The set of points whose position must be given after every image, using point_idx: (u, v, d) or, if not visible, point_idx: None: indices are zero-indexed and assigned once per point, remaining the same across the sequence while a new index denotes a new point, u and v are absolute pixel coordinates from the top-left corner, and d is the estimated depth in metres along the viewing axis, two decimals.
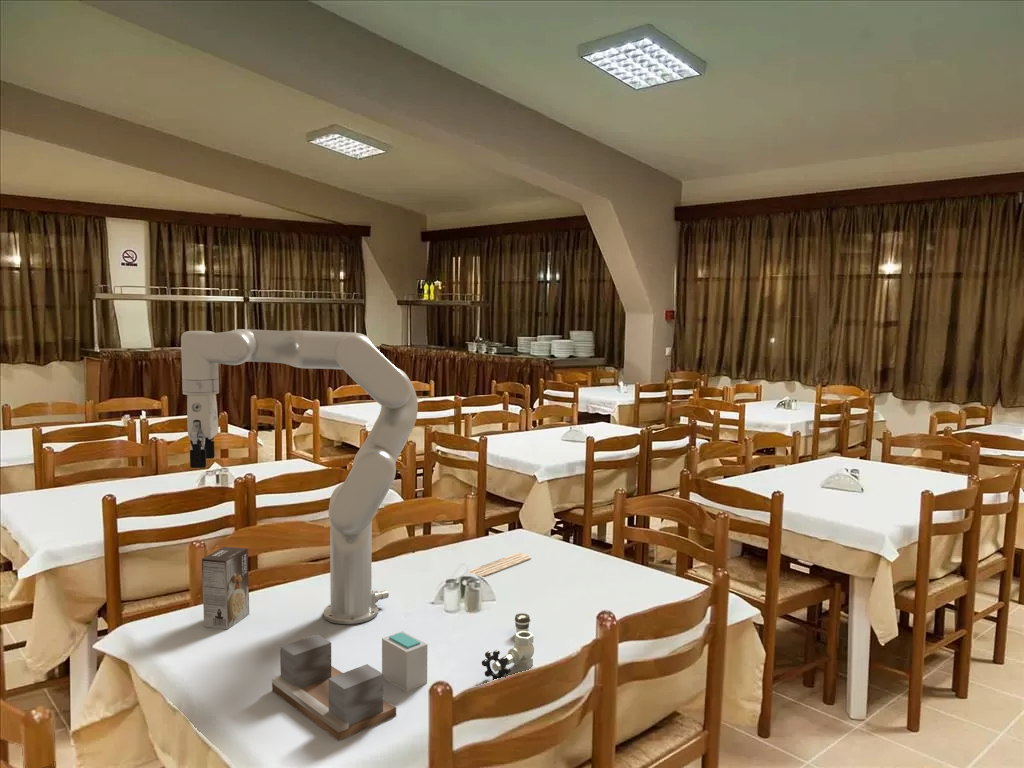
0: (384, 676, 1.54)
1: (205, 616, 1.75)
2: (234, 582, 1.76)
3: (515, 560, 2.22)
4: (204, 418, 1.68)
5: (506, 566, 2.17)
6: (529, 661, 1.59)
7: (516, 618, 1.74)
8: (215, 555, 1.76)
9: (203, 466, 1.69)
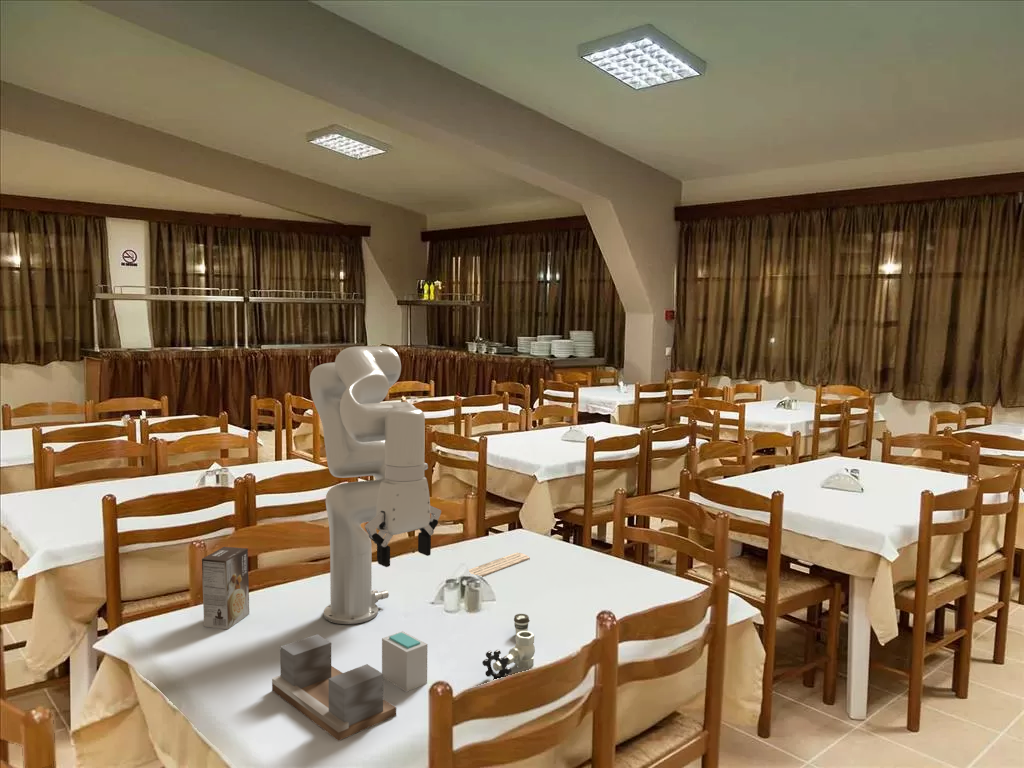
0: (384, 676, 1.54)
1: (205, 616, 1.75)
2: (234, 582, 1.76)
3: (514, 560, 2.22)
4: None
5: (505, 566, 2.18)
6: (530, 661, 1.59)
7: (515, 618, 1.73)
8: (215, 555, 1.76)
9: None
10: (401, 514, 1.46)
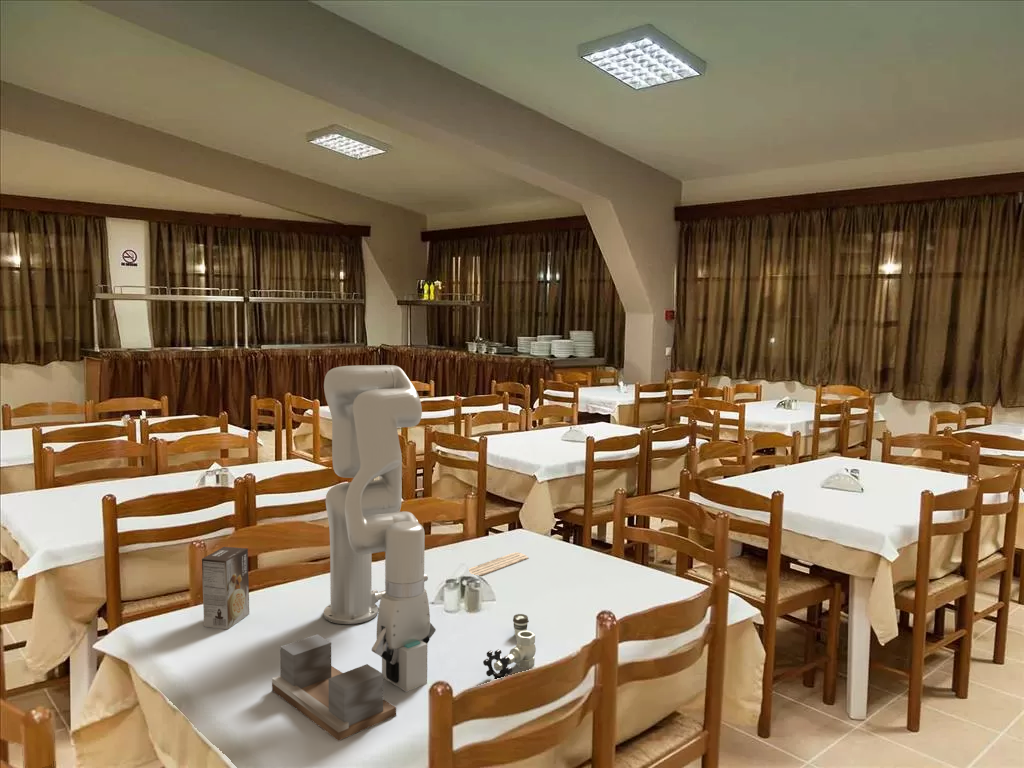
0: (384, 676, 1.54)
1: (205, 616, 1.75)
2: (234, 582, 1.76)
3: (512, 559, 2.22)
4: None
5: (503, 565, 2.18)
6: (531, 661, 1.59)
7: (514, 619, 1.73)
8: (215, 555, 1.76)
9: None
10: (401, 629, 1.48)
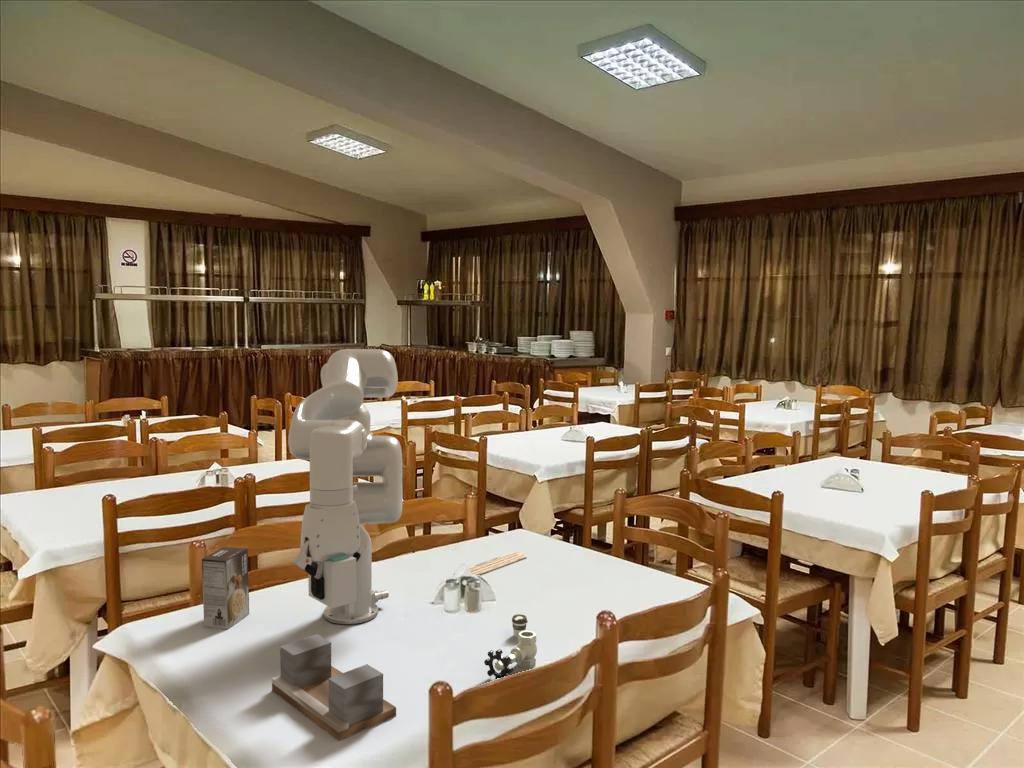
0: (311, 594, 1.42)
1: (205, 616, 1.75)
2: (234, 582, 1.76)
3: (511, 559, 2.23)
4: None
5: (502, 565, 2.18)
6: (532, 661, 1.59)
7: (513, 619, 1.73)
8: (215, 555, 1.76)
9: None
10: (326, 541, 1.37)
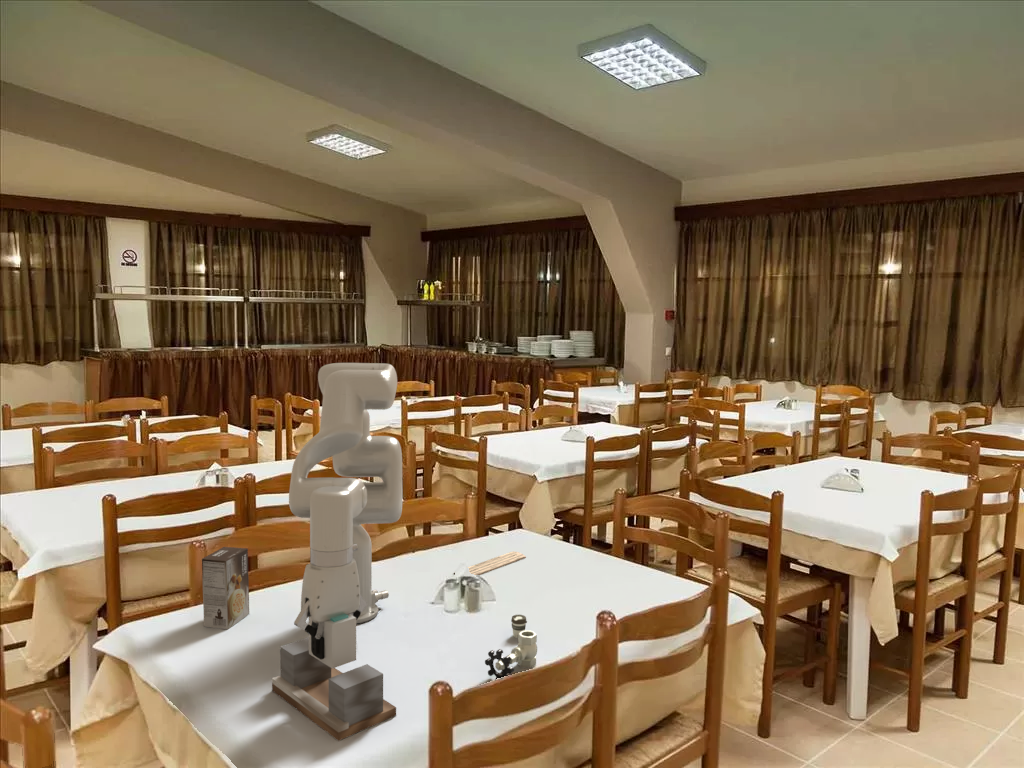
0: (311, 653, 1.43)
1: (205, 616, 1.75)
2: (234, 582, 1.76)
3: (510, 558, 2.23)
4: None
5: (501, 564, 2.19)
6: (532, 660, 1.60)
7: (512, 619, 1.73)
8: (215, 555, 1.76)
9: None
10: (326, 601, 1.38)
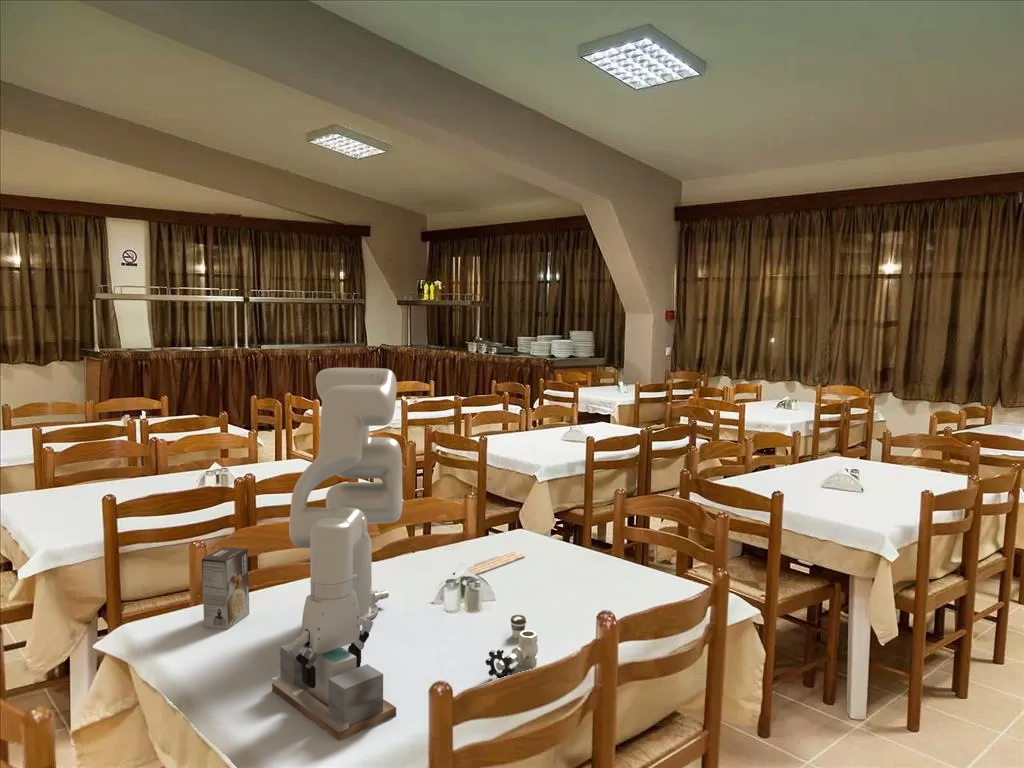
0: (311, 691, 1.44)
1: (205, 616, 1.75)
2: (234, 582, 1.76)
3: (509, 558, 2.23)
4: None
5: (500, 564, 2.19)
6: (533, 660, 1.60)
7: (512, 619, 1.73)
8: (215, 555, 1.76)
9: None
10: (327, 633, 1.39)
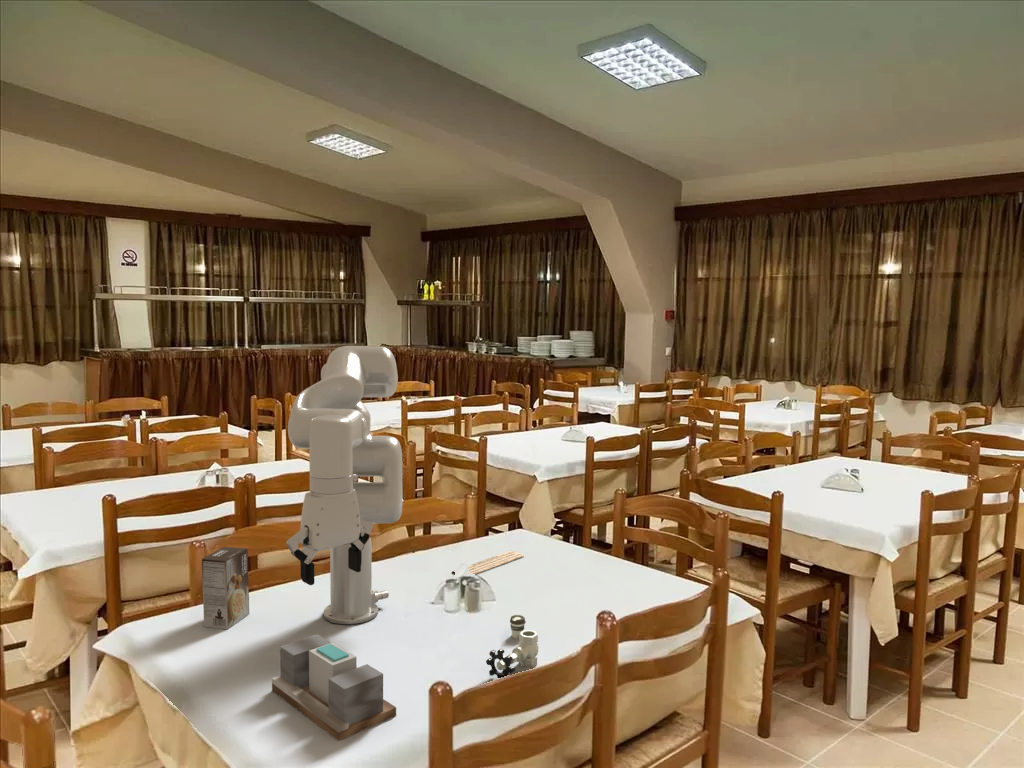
0: (311, 691, 1.44)
1: (205, 616, 1.75)
2: (234, 582, 1.76)
3: (508, 558, 2.23)
4: None
5: (499, 564, 2.19)
6: (533, 660, 1.60)
7: (511, 620, 1.73)
8: (215, 555, 1.76)
9: None
10: (326, 529, 1.37)
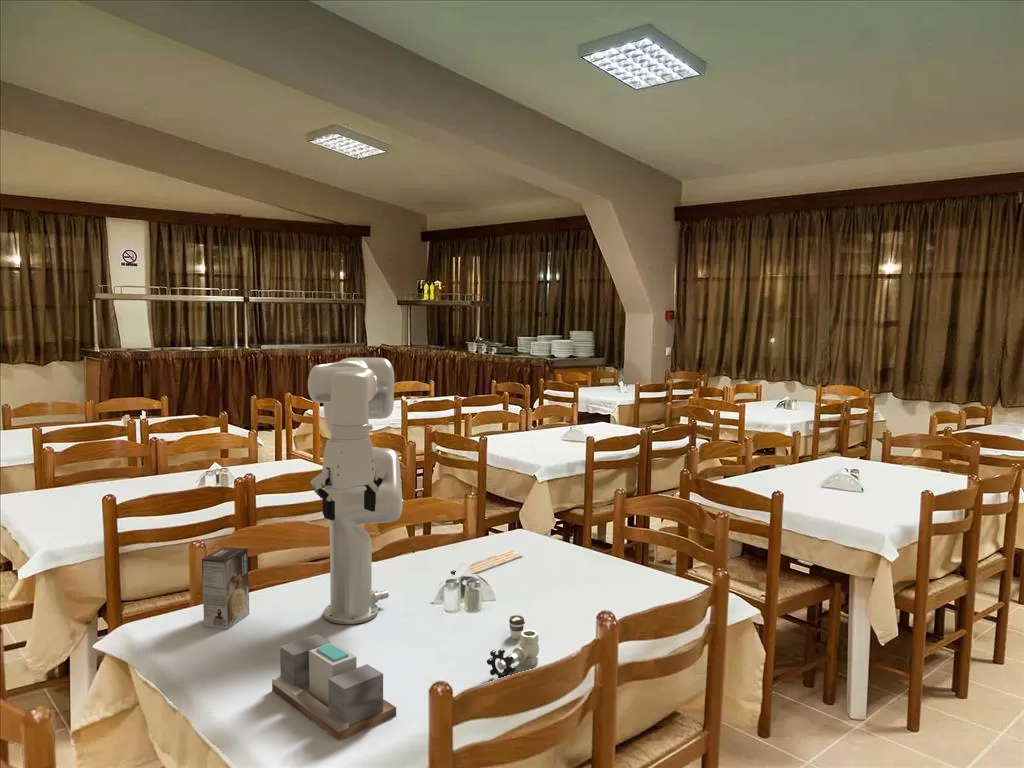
0: (311, 691, 1.44)
1: (205, 616, 1.75)
2: (234, 582, 1.76)
3: (506, 557, 2.24)
4: None
5: (497, 563, 2.19)
6: (534, 660, 1.60)
7: (510, 620, 1.73)
8: (215, 555, 1.76)
9: None
10: (345, 471, 1.55)
